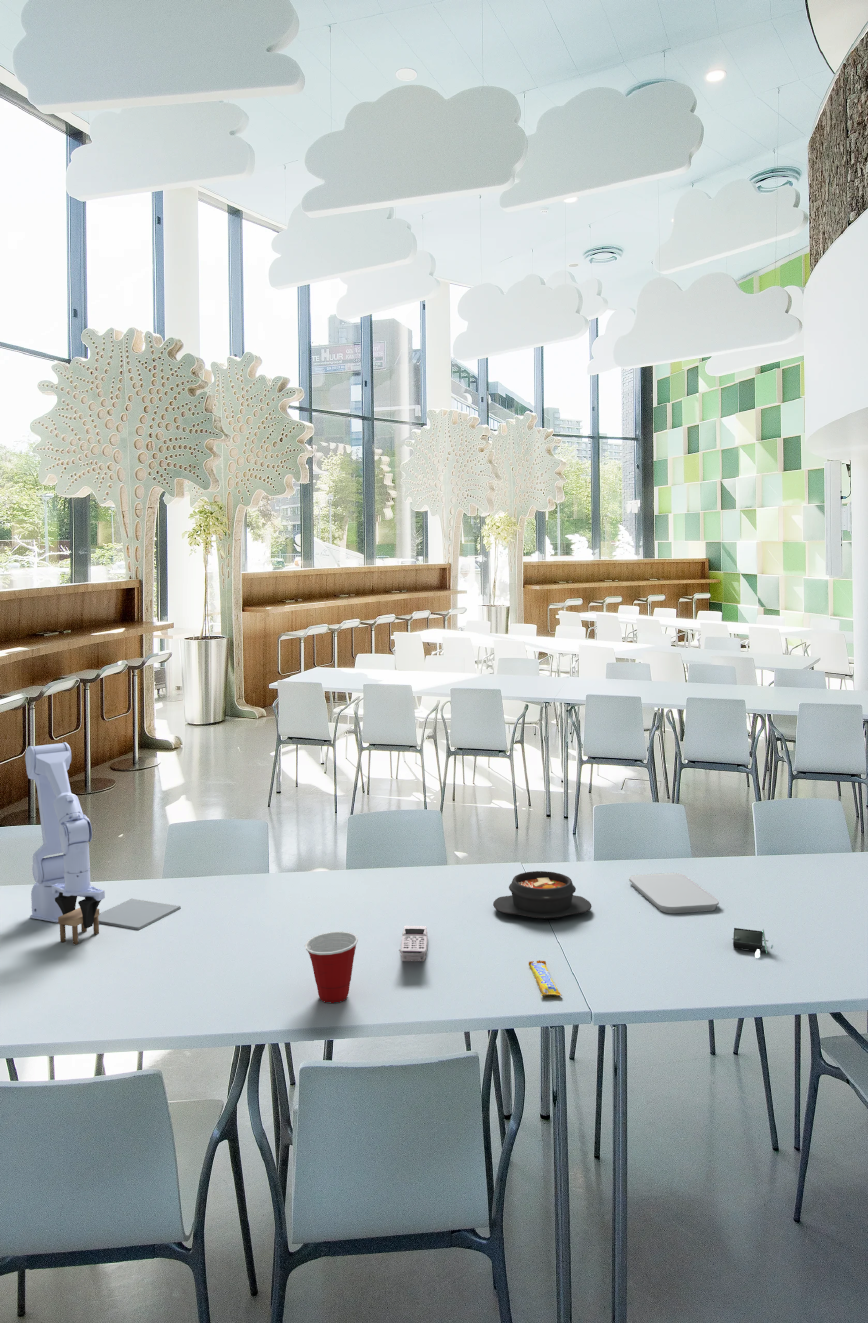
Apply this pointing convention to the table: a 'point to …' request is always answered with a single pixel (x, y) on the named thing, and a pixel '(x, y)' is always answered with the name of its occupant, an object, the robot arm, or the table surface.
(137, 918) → the mat
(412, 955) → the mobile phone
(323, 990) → the plastic cup
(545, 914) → the casserole
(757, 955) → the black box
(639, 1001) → the table surface
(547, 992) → the candy bar
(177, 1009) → the table surface
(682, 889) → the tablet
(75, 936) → the stool
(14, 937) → the table surface
